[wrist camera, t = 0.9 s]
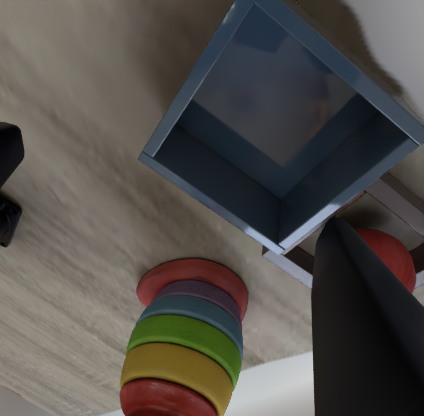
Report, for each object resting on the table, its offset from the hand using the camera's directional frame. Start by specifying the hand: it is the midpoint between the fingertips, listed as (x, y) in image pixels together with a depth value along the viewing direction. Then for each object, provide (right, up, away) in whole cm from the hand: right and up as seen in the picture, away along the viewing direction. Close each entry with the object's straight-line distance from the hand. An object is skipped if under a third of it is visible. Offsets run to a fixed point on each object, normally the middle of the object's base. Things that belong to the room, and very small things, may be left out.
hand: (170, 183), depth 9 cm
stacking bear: (0, -9, +24) cm, 25 cm away
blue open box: (+5, +5, +12) cm, 14 cm away
